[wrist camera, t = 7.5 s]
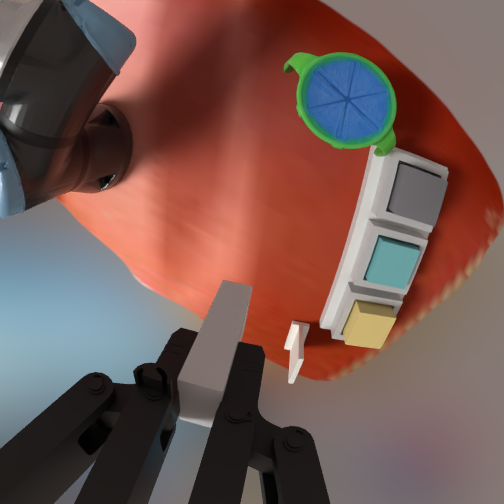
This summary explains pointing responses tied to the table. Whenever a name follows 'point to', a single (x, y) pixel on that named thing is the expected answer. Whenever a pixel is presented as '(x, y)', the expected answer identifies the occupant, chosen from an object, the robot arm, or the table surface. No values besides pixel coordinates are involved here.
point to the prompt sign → (296, 347)
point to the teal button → (392, 262)
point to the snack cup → (345, 100)
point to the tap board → (375, 238)
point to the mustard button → (368, 324)
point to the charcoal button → (417, 195)
